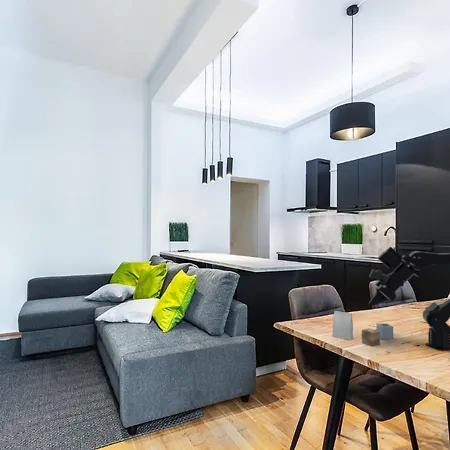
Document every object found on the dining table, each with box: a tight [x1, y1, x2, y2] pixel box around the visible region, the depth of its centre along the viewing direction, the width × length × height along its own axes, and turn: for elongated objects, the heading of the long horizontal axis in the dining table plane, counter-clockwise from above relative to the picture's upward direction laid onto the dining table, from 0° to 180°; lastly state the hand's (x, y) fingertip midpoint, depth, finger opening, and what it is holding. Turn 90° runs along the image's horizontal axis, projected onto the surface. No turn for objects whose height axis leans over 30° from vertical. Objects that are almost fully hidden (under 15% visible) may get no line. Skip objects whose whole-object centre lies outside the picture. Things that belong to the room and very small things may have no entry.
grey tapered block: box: [332, 310, 354, 341], centre depth 130 cm, size 4×7×10 cm, turn 51°
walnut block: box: [361, 328, 381, 347], centre depth 123 cm, size 4×4×5 cm
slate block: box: [375, 323, 394, 340], centre depth 131 cm, size 4×4×5 cm
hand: (369, 305), depth 128 cm, fingers closed
